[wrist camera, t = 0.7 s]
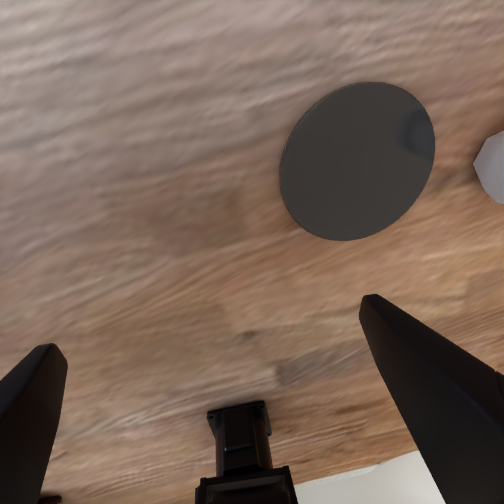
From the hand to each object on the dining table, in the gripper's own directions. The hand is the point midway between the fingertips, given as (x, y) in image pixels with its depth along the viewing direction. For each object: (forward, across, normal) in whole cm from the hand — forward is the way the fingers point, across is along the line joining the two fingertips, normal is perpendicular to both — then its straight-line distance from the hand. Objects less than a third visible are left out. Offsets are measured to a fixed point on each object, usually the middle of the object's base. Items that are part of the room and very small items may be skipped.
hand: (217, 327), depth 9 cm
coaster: (+14, -11, +2) cm, 17 cm away
